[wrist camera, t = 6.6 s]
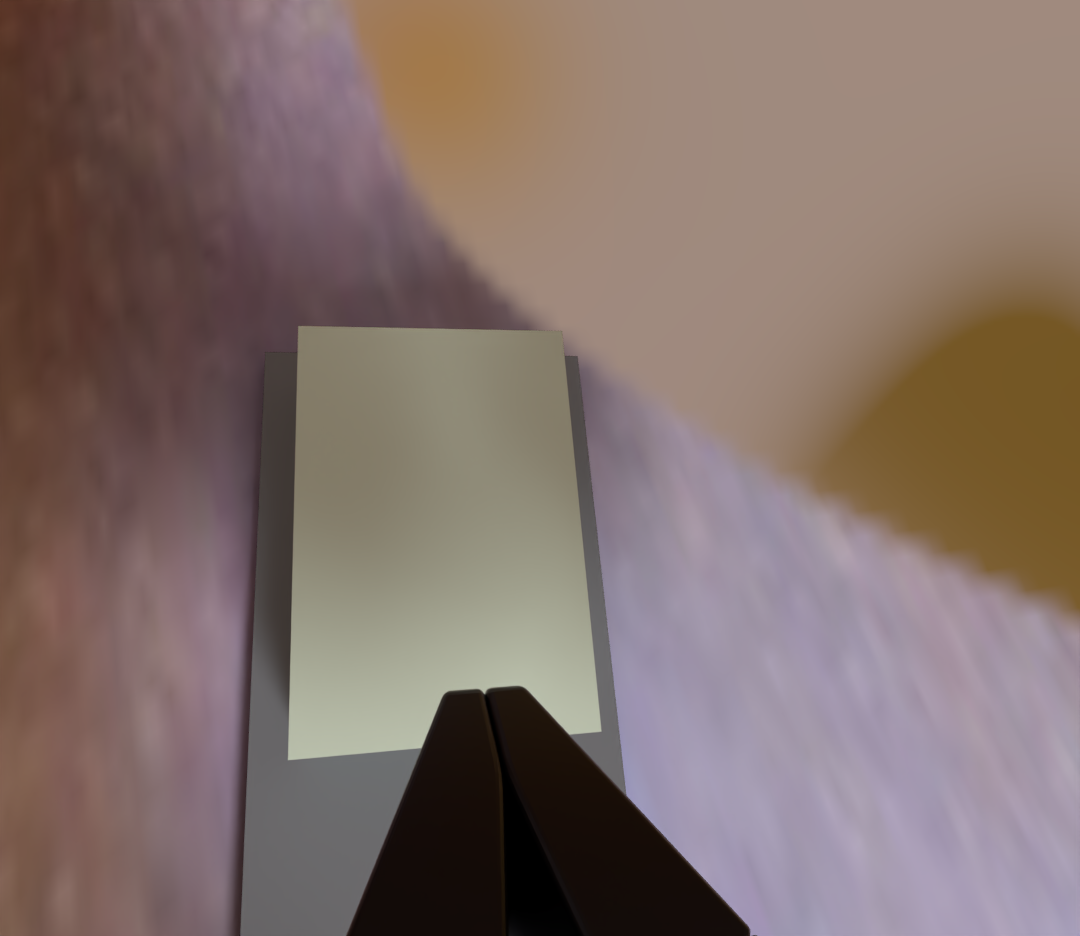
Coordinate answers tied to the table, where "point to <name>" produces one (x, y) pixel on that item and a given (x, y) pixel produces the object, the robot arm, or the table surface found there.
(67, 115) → the table surface
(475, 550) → the sage tile
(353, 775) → the pair of gray tiles
